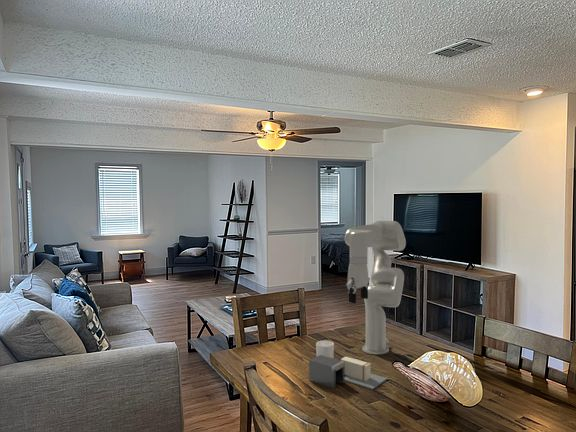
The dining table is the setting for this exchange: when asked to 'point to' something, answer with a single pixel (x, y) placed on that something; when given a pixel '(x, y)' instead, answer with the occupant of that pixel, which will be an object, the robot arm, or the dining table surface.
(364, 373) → the beige block
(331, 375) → the dispenser
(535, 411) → the dining table surface
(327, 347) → the white cup
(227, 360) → the dining table surface
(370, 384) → the mat
